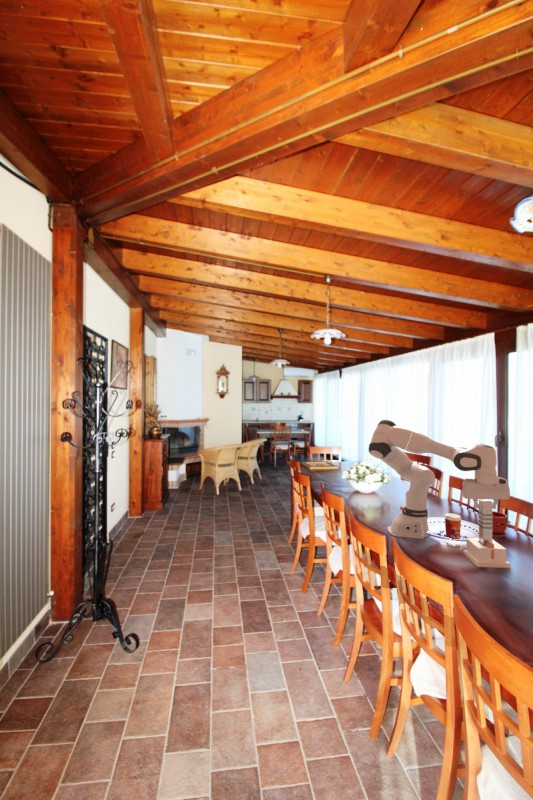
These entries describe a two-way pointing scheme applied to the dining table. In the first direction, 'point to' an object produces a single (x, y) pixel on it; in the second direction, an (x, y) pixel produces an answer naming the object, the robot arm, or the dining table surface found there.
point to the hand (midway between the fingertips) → (485, 508)
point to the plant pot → (499, 524)
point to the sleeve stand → (486, 554)
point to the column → (485, 522)
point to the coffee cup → (452, 525)
